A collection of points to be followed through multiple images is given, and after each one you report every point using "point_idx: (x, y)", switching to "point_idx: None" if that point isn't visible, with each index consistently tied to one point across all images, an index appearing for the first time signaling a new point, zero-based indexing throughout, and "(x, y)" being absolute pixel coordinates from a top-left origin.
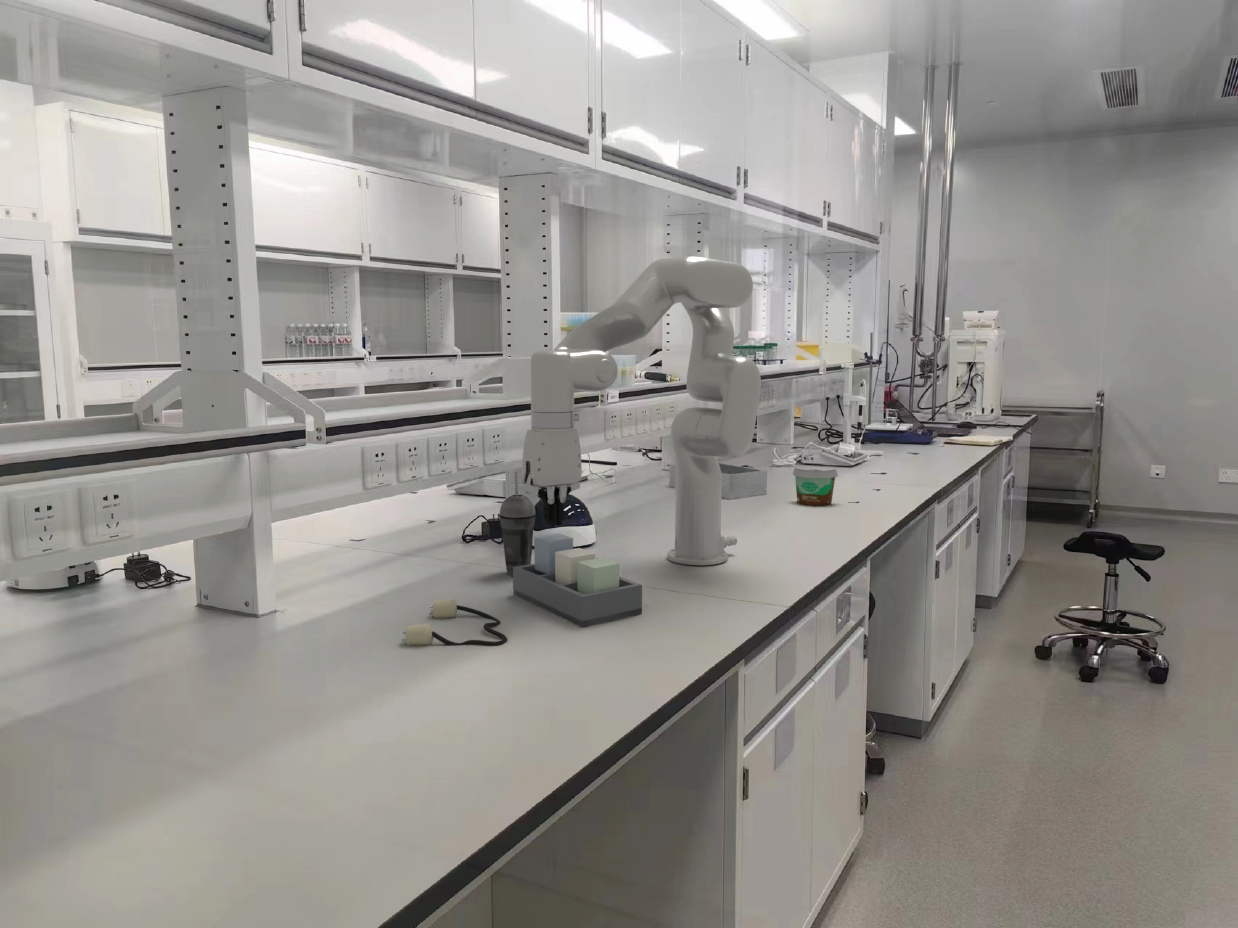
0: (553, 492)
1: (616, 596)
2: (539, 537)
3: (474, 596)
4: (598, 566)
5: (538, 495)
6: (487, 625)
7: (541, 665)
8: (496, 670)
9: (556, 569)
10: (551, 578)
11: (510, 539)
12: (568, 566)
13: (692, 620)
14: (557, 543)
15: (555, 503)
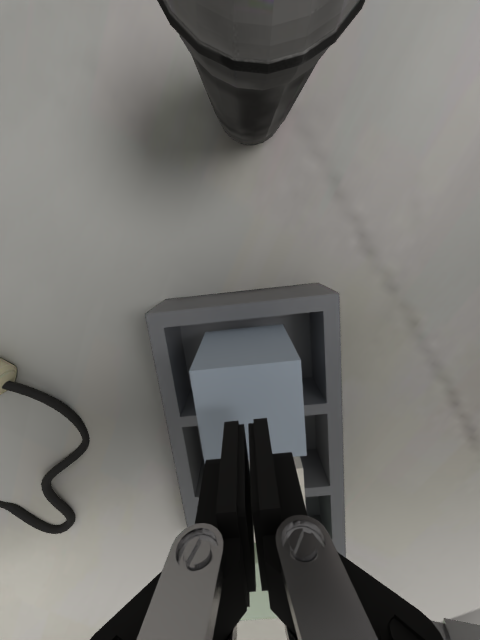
0: (289, 603)
1: None
2: (200, 394)
3: (79, 269)
4: (254, 613)
5: (123, 627)
6: (48, 484)
7: (93, 606)
8: (34, 597)
9: None
10: None
11: (203, 77)
12: None
13: (375, 567)
14: None
15: (260, 572)
